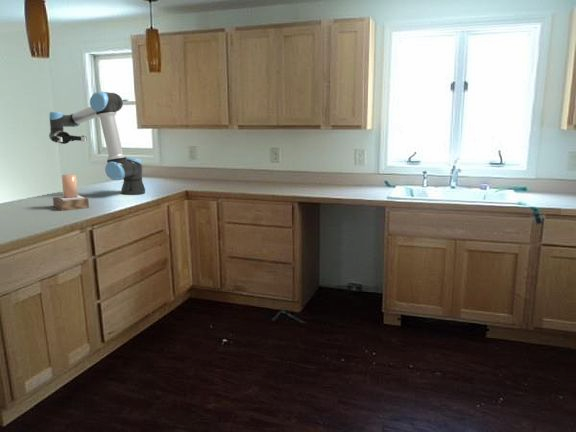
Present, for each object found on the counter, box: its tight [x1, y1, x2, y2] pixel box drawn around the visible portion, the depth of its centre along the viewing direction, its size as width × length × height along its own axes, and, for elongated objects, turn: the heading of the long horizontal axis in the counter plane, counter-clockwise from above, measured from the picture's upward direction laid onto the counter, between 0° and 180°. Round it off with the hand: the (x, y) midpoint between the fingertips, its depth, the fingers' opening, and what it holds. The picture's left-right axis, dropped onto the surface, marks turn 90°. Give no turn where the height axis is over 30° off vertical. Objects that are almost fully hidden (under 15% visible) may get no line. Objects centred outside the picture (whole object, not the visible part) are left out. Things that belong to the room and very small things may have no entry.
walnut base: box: [52, 194, 90, 212], centre depth 252 cm, size 14×14×6 cm
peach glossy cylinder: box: [61, 173, 78, 198], centre depth 251 cm, size 7×7×12 cm
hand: (73, 139), depth 275 cm, fingers open, 13 cm apart
